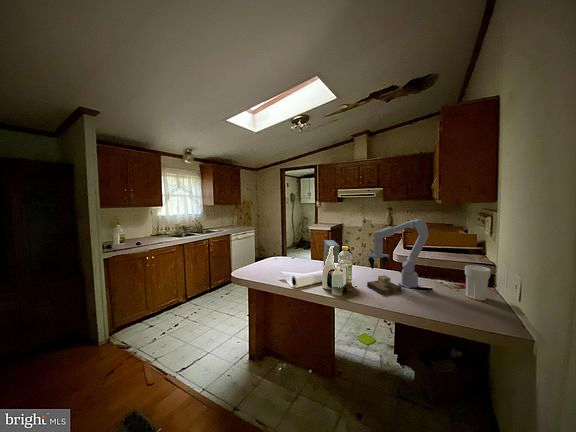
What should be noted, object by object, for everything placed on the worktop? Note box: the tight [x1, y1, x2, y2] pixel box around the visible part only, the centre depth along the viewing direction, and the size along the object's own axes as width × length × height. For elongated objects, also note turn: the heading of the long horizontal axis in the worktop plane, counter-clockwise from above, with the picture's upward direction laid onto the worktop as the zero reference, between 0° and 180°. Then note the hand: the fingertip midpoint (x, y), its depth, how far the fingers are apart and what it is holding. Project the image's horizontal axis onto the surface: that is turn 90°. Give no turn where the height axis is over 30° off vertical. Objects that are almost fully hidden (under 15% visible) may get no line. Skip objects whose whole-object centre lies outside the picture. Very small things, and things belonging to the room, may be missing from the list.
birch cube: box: [377, 274, 391, 287], centre depth 144 cm, size 5×5×5 cm
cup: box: [464, 264, 492, 302], centre depth 131 cm, size 11×11×17 cm
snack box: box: [322, 239, 340, 268], centre depth 166 cm, size 22×9×26 cm, turn 179°
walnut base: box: [366, 280, 402, 296], centre depth 145 cm, size 14×14×3 cm
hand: (377, 268), depth 157 cm, fingers open, 7 cm apart
